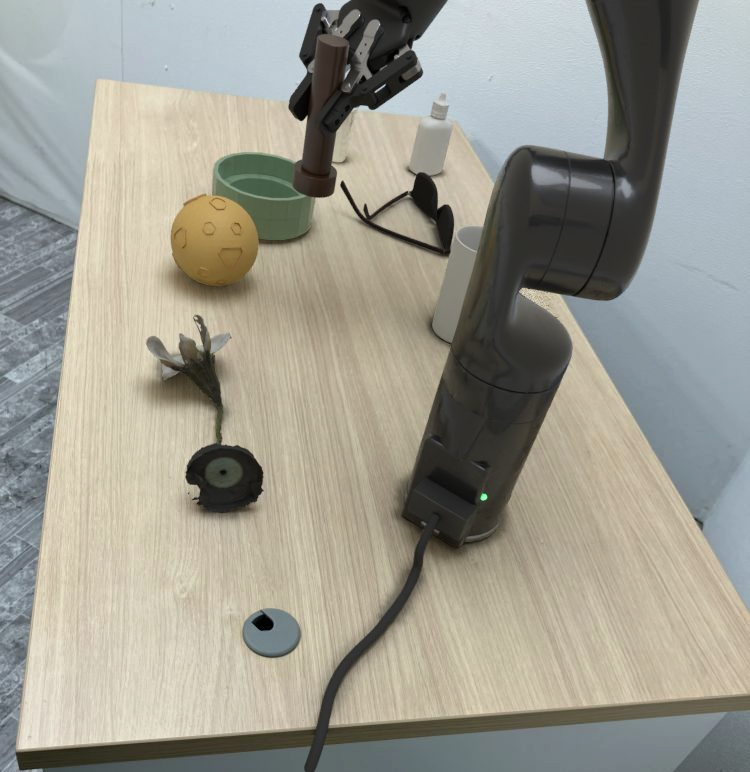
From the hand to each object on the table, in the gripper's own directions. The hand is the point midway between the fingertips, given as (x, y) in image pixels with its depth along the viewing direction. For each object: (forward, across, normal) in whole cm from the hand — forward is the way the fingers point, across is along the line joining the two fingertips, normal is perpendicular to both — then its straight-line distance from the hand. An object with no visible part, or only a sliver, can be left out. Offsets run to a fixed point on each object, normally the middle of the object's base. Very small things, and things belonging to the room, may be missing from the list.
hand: (307, 122), depth 77 cm
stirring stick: (+4, 0, +6) cm, 7 cm away
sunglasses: (-5, -9, +37) cm, 38 cm away
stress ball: (+17, -10, +14) cm, 25 cm away
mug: (+3, +12, +28) cm, 31 cm away
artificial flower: (+29, +10, +2) cm, 31 cm away
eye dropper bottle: (-18, -19, +50) cm, 56 cm away
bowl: (+6, -19, +25) cm, 32 cm away
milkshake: (-10, -28, +42) cm, 52 cm away
